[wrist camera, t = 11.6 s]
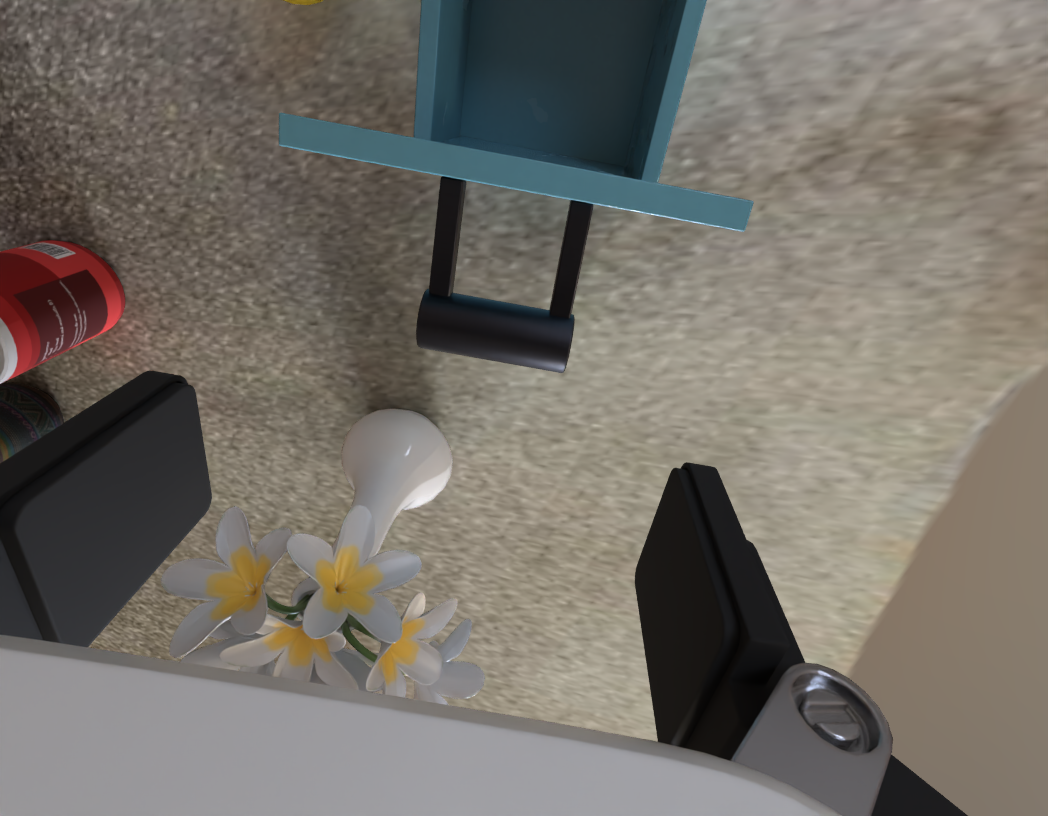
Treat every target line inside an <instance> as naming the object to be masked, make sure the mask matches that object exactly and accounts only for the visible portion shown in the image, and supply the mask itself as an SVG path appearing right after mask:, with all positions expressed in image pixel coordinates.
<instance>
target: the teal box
mask: <svg viewBox="0 0 1048 816" xmlns="http://www.w3.org/2000/svg"><path fill="white" fill-rule="evenodd" d="M706 1H707V0H421V15H420V33H419V51H418V68H417V86H416V104H415V122H414V138H419V139H424V140H430V141H435V142H440V143H446V144H451V145H456V146H462V147H467V148H472V149H478V150H483V151H489V152H494V153H499V154H505V155H510V156H515V157H521V158H526V159H531V160H537V161H542V162H547V163H553V164H558V165H563V166H569V167H574V168H579V169H585V170H590V171H596V172H601V173H606V174H612V175H617V176H622V177H628V178H633V179H638V180H644V181H649V182H654V183H658V181H659V177H660V173H661V169H662V166H663V162H664V158H665V154H666V151H667V147H668V143H669V139H670V136H671V132H672V128H673V124H674V121H675V117H676V113H677V109H678V106H679V102H680V98H681V95H682V91H683V87H684V83H685V80H686V76H687V72H688V68H689V65H690V61H691V57H692V53H693V50H694V46H695V42H696V38H697V35H698V31H699V27H700V24H701V20H702V16H703V12H704V9H705V5H706Z"/></svg>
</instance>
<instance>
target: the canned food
mask: <svg viewBox="0 0 1048 816" xmlns="http://www.w3.org/2000/svg"><path fill="white" fill-rule="evenodd" d="M124 307H125V295H124V291H123V287H122V285H121V283H120V280H119V279H118V277H117V275H116V274H115V272H114V271H113V270H112V269H111V267H110V266H109V265H108V264H107V263H106V262H105V261H104V260H103V259H102V258H101V257H99V256H98V255H97V254H95V253H94V252H92V251H91V250H89V249H87V248H85V247H83V246H81V245H78V244H74V243H71V242H64V241H54V240H49V241H40V242H36V243H33V244H29V245H25V246H21V247H17V248H13V249H9V250H5V251H1V252H0V384H1V383H3V382H5V381H7V380H9V379H11V378H14V377H16V376H18V375H20V374H22V373H24V372H26V371H28V370H30V369H32V368H34V367H36V366H38V365H40V364H42V363H44V362H46V361H48V360H50V359H52V358H54V357H56V356H58V355H60V354H61V353H63V352H65V351H67V350H69V349H71V348H73V347H75V346H77V345H79V344H81V343H83V342H85V341H87V340H89V339H91V338H93V337H95V336H97V335H99V334H101V333H103V332H105V331H107V330H109V329H110V328H112V327H113V326H114V325H115V324H116V322H117V321H118V320H119V319H120V317H121V315H122V314H123V312H124Z"/></svg>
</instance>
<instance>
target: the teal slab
mask: <svg viewBox="0 0 1048 816" xmlns="http://www.w3.org/2000/svg"><path fill="white" fill-rule="evenodd" d="M279 145H280V146H284V147H289V148H295V149H300V150H305V151H311V152H316V153H322V154H327V155H332V156H338V157H343V158H348V159H354V160H359V161H365V162H370V163H375V164H381V165H386V166H392V167H397V168H402V169H408V170H413V171H419V172H424V173H429V174H435V175H440V176H442V177H441V181H440V190H439V200H438V209H437V219H436V228H435V238H434V247H433V256H432V266H431V275H430V285H429V289H427V290H426V291H425V292H424V294H423V297H422V300H421V303H420V307H419V312H418V319H417V328H416V340H417V345H418V347H420V348H424V349H430V350H435V351H441V352H447V353H452V354H458V355H463V356H469V357H475V358H480V359H486V360H492V361H497V362H503V363H508V364H514V365H520V366H525V367H531V368H536V369H542V370H548V371H553V372H559V373H563V372H564V371H565V368H566V365H567V361H568V357H569V353H570V348H571V343H572V337H573V330H574V320H575V319H574V315H572V314H571V313H572V308H573V303H574V298H575V293H576V288H577V284H578V279H579V274H580V269H581V264H582V259H583V254H584V250H585V245H586V240H587V235H588V230H589V225H590V220H591V216H592V211H593V204H596V205H602V206H607V207H613V208H618V209H623V210H629V211H634V212H640V213H645V214H650V215H656V216H661V217H667V218H672V219H677V220H683V221H688V222H694V223H699V224H704V225H710V226H715V227H720V228H726V229H731V230H737V231H742V232H743V231H745V229H746V225H747V222H748V219H749V216H750V212H751V209H752V206H753V201H751V200H745V199H740V198H735V197H729V196H724V195H719V194H713V193H708V192H703V191H697V190H692V189H687V188H681V187H676V186H670V185H665V184H660V183H654V182H649V181H644V180H638V179H633V178H628V177H622V176H617V175H612V174H606V173H601V172H596V171H590V170H585V169H579V168H574V167H569V166H563V165H558V164H553V163H547V162H542V161H537V160H531V159H526V158H521V157H515V156H510V155H505V154H499V153H494V152H489V151H483V150H478V149H472V148H467V147H462V146H456V145H451V144H446V143H440V142H435V141H430V140H424V139H419V138H414V137H408V136H403V135H398V134H392V133H387V132H381V131H376V130H371V129H365V128H360V127H355V126H349V125H344V124H339V123H333V122H328V121H323V120H317V119H312V118H307V117H301V116H296V115H291V114H285V113H279ZM465 180H467V181H472V182H478V183H483V184H489V185H494V186H499V187H505V188H510V189H516V190H521V191H526V192H532V193H537V194H543V195H548V196H553V197H559V198H564V199H570V200H571V201H570V205H569V211H568V216H567V221H566V226H565V232H564V237H563V242H562V247H561V253H560V258H559V263H558V268H557V273H556V279H555V284H554V289H553V294H552V300H551V305H550V310H545V309H539V308H534V307H528V306H523V305H517V304H512V303H506V302H501V301H495V300H490V299H484V298H478V297H473V296H467V295H462V294H456V293H453V287H454V279H455V271H456V262H457V254H458V246H459V238H460V230H461V222H462V214H463V205H464V197H465V189H466V181H465Z"/></svg>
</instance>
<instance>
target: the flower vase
mask: <svg viewBox="0 0 1048 816" xmlns="http://www.w3.org/2000/svg"><path fill="white" fill-rule="evenodd" d="M452 465H453V457H452V453H451V448H450V445H449V443H448V442H447V440H446V438H445V436H444V434H443V433H442V432H441V431H440V430H439V429H438V428H437V426H436V425H435V424H434V423H432V422H431V421H430V420H429V419H428V418H426V417H425V416H423V415H422V414H419V413H417V412H414V411H410V410H401V409H382V410H378V411H375V412H372V413H369V414H367V415H365V416H364V417H362V418H361V419H359V420H358V421H356V422H355V423H354V424H353V426H352V427H351V429H350V430H349V431H348V433H347V434H346V437H345V440H344V443H343V446H342V467H343V470H344V473H345V476H346V479H347V480H348V482H349V483H350V485H351V486H352V488H353V489H354V491H355V493H354V499H353V502H352V505H351V507H350V510H349V512H348V514H347V516H346V517H345V519H344V522H343V524H342V527H341V529H340V532H339V534H338V536H337V538H336V540H335V542H334V544H333V546H332V547H331V546H330V545H329V544H328V543H327V542H325V541H324V540H322V539H321V538H318V537H316V536H313V535H310V534H296V535H293V536H292V533H291V530H290V529H288V528H279V529H276V530H274V531H272V532H270V533H268V534H267V535H265V536H264V537H263V538H262V539H261V540H260V541H259V542H258V544H257V546H256V551H255V549H254V546H253V544H252V540H251V535H250V529H249V525H248V522H247V518H246V516H245V514H244V512H243V511H242V510H241V509H240V508H239V507H235V506H234V507H231V508H228V509H227V510H226V511H225V513H224V514H223V515H222V517H221V519H220V521H219V524H218V527H217V531H216V550H217V553H218V556H219V557H220V558H221V560H222V561H223V562H224V563H225V564H226V565H227V566H226V565H224V564H222V563H219V562H216V561H214V560H208V559H199V558H196V559H188V560H183V561H180V562H177V563H175V564H173V565H171V566H170V567H169V568H167V569H166V570H165V571H164V573H163V576H162V578H161V584H162V587H163V588H164V589H165V590H166V591H167V592H169V593H170V594H173V595H174V596H178V597H181V598H188V599H197V600H208V601H210V602H206V603H203V604H200V605H198V606H197V607H195V608H194V609H193V610H192V611H191V612H190V613H189V614H188V615H187V616H186V617H185V618H184V619H183V621H182V622H181V623H180V625H179V626H178V628H177V630H176V631H175V633H174V635H173V638H172V640H171V643H170V649H169V652H170V655H171V656H173V657H174V658H177V657H181V656H184V655H186V654H187V653H189V652H190V653H189V654H187V655H186V656H184V658H183V659H182V660H181V662H185V663H191V664H198V665H204V666H210V667H217V668H223V669H229V670H235V671H237V670H238V669H240V668H241V669H240V670H239V671H242V672H248V673H254V674H260V675H267V676H273V677H279V678H285V679H292V680H298V681H304V682H310V683H317V684H323V685H329V686H335V687H341V688H348V689H354V690H360V691H366V692H376V691H380V690H383V694H385V695H391V696H397V697H403V698H405V695H406V680H405V678H404V676H403V675H405V676H408V677H409V678H411V679H413V680H414V699H415V700H421V701H427V702H433V703H439V704H445V705H448V703H447V702H446V701H445V700H444V699H443V697H442V696H440V695H443V696H446V697H449V698H454V699H466V698H469V697H472V696H474V695H476V694H477V693H478V692H479V691H480V690H481V689H482V687H483V685H484V679H485V677H484V673H483V671H482V670H481V668H480V667H478V666H477V665H475V664H473V663H469V662H458V661H449V660H451V659H454V658H456V657H457V656H458V655H459V654H460V653H461V652H462V650H463V649H464V647H465V645H466V643H467V641H468V639H469V636H470V632H471V627H472V622H471V620H470V619H465V620H464V621H463V622H461V623H460V625H459V626H458V627H457V628H456V629H455V630H454V631H453V632H452V633H451V634H450V635H449V637H448V638H447V639H446V640H445V641H444V642H443V643H442V644H441V645H440V646H439V644H438V642H437V641H432V642H430V643H429V644H428V643H426V642H424V641H422V640H419V639H425V638H430V637H432V636H434V635H436V634H437V633H438V632H440V631H441V630H442V629H443V628H444V627H445V626H446V625H447V623H448V622H449V621H450V619H451V617H452V616H453V614H454V612H455V611H456V608H457V604H458V603H457V599H455V598H451V599H449V600H447V601H445V602H443V603H441V604H440V605H438V606H436V607H435V608H433V609H431V610H430V611H428V612H426V613H424V614H422V613H423V611H424V608H425V603H426V601H425V595H424V594H423V593H422V592H421V593H418V594H417V595H416V596H414V597H413V599H412V600H411V601H410V603H409V605H408V606H407V608H406V610H405V611H404V613H403V615H402V616H401V618H400V616H399V614H398V612H397V610H396V608H395V607H394V605H393V604H392V603H391V602H390V601H389V600H388V599H387V598H386V597H385V596H383V595H378V594H374V593H379V592H382V591H386V590H389V589H392V588H395V587H398V586H401V585H403V584H405V583H407V582H408V581H410V580H412V579H413V578H414V577H415V576H416V575H417V574H418V573H419V571H420V569H421V566H422V564H421V560H420V558H419V557H418V556H417V555H416V554H414V553H412V552H410V551H405V550H391V551H387V552H383V553H380V554H378V552H379V549H380V547H381V545H382V543H383V541H384V539H385V537H386V535H387V532H388V530H389V528H390V527H391V525H392V523H393V521H394V519H395V518H396V516H397V515H398V514H399V512H400V511H402V510H409V509H413V508H416V507H420V506H422V505H424V504H426V503H428V502H429V501H431V500H433V499H434V498H435V497H436V496H437V495H438V494H439V493H440V492H441V491H442V490H443V489H444V487H445V486H446V484H447V482H448V480H449V478H450V476H451V473H452ZM287 550H288V554H289V555H290V557H291V559H292V560H293V561H294V563H295V564H296V565H297V566H298V567H299V568H300V569H301V570H302V571H303V572H304V573H306V574H307V575H308V576H310V577H309V578H307V579H305V580H303V581H302V582H300V583H299V585H298V586H297V587H296V588H295V589H294V591H293V595H292V598H291V603H292V607H288V606H284V605H281V604H279V603H277V602H276V601H274V600H273V599H272V598H271V597H270V596H268V595H267V594H266V593H265V591H264V588H265V584H266V582H267V580H268V578H269V576H270V574H271V572H272V570H273V568H274V567H275V566H276V565H277V564H278V562H279V561H280V560H281V559H282V557H283V556H284V554H285V553H286V552H287ZM211 600H214V601H211ZM268 608H270V609H272V610H274V611H276V612H279V613H282V614H288V615H287V617H286V618H285V619H284V618H281V617H277V616H274V615H271V614H268V613H267V611H268ZM296 617H298V618H299V619H300V620H301V621H295V618H296ZM230 618H231V621H230V620H228V619H230ZM354 629H356V630H358V631H360V632H362V633H364V634H366V635H368V636H370V637H371V638H373V639H375V640H377V641H379V642H380V643H381V647H380V652H379V653H372V652H371V651H369V650H368V649H367V648H365V647H364V646H363V645H362V644H361V643H360V642H359V641H358V640H357V639H356V638H355V637H354V635H353V634H352V633H351V631H352V630H354ZM341 633H343V635H342V634H341ZM208 636H210V637H212V638H215V639H225V640H222V641H220V642H217V643H214V644H212V645H208V646H205V647H201V648H199V649H196V650H194V651H192V650H193V649H194V648H196V647H197V646H198V645H199V644H201V643H202V642H203V641H204V640H205V639H206V638H207V637H208ZM227 638H228V639H227ZM345 638H346V639H347V641H348V642H349V643H350V644H351V645H352V646H353V647H354V648H355V649H356V650H357V651H355V650H350V649H345V648H343V647H344V646H345V643H346V639H345ZM191 651H192V652H191ZM280 653H281V655H280V657H279V659H278V661H277V663H276V665H275V662H274V659H275V658H276V657H277V656H278V655H279V654H280ZM314 660H315V663H314ZM366 663H367V664H368V665H371V666H372V668H370V667H369V666H368V665H367V664H366ZM439 694H440V695H439Z"/></svg>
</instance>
